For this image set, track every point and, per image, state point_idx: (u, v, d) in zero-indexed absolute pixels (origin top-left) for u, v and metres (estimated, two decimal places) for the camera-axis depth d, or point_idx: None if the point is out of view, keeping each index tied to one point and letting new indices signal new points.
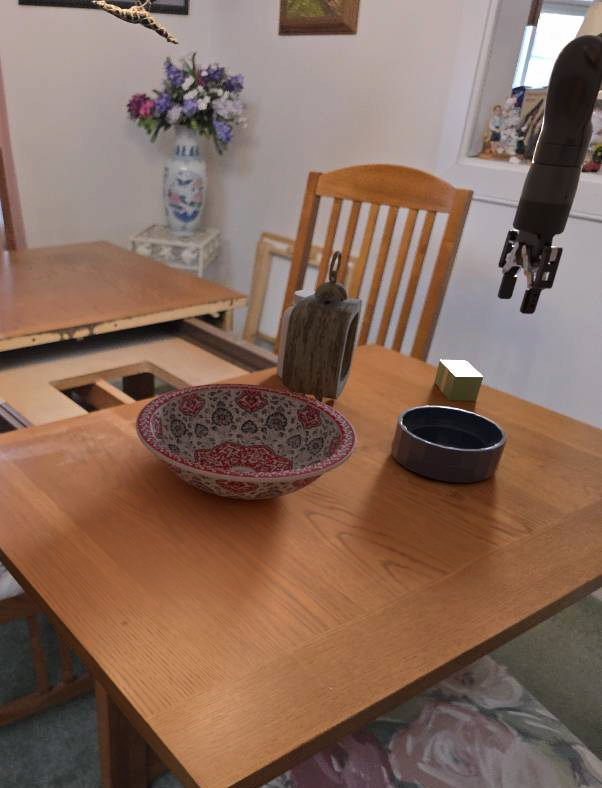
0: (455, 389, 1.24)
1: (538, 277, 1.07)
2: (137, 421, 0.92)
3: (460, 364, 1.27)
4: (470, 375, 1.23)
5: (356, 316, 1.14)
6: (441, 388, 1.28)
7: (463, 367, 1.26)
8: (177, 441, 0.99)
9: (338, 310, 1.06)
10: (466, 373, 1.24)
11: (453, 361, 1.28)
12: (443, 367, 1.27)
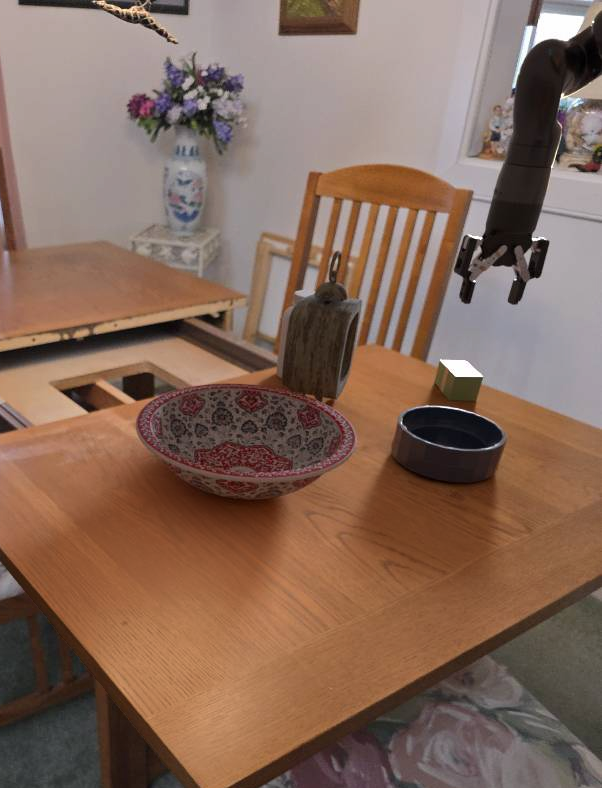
0: (455, 389, 1.24)
1: None
2: (137, 421, 0.92)
3: (460, 364, 1.27)
4: (470, 375, 1.23)
5: (356, 316, 1.14)
6: (441, 388, 1.28)
7: (463, 367, 1.26)
8: (177, 441, 0.99)
9: (338, 310, 1.06)
10: (466, 373, 1.24)
11: (453, 361, 1.28)
12: (443, 367, 1.27)
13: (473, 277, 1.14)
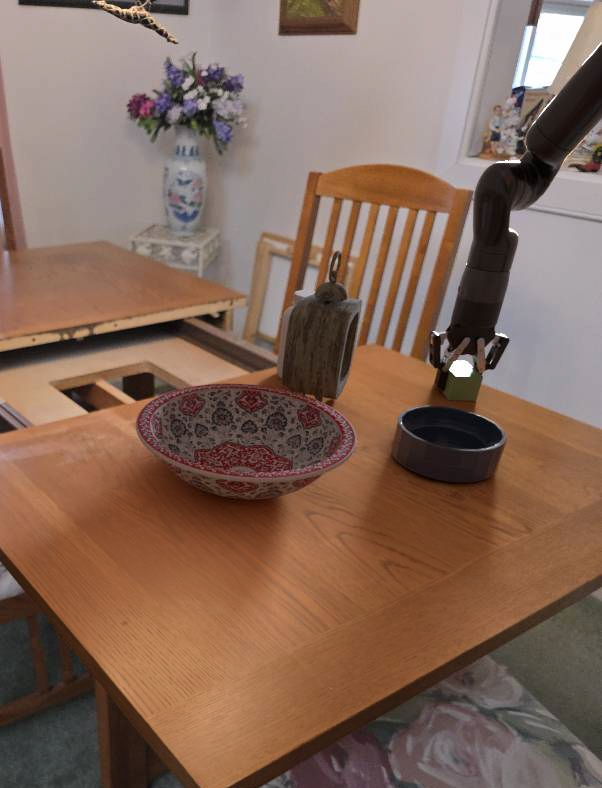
0: (455, 389, 1.24)
1: None
2: (137, 421, 0.92)
3: (460, 364, 1.27)
4: (470, 375, 1.23)
5: (356, 316, 1.14)
6: None
7: (463, 367, 1.26)
8: (177, 441, 0.99)
9: (338, 310, 1.06)
10: (466, 373, 1.24)
11: None
12: None
13: (446, 369, 1.24)
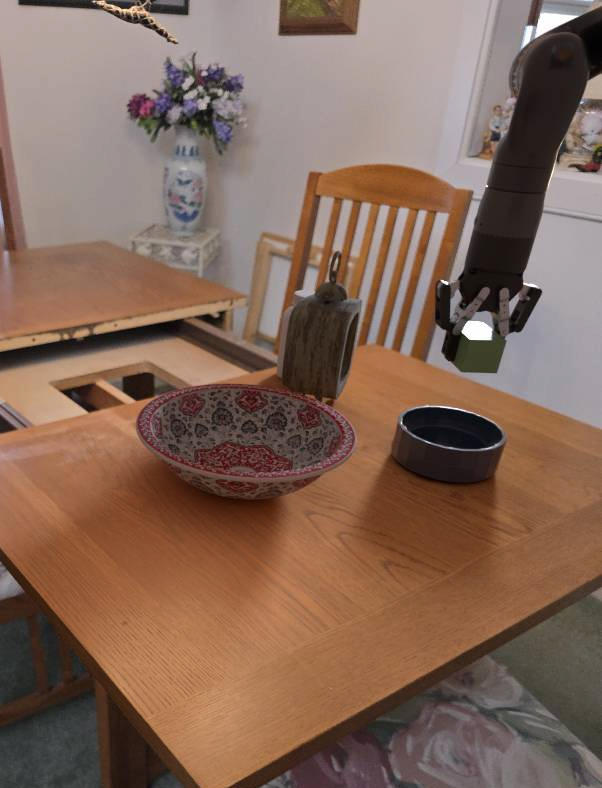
0: (469, 357, 0.93)
1: None
2: (137, 421, 0.92)
3: (476, 326, 0.97)
4: (489, 338, 0.93)
5: (356, 316, 1.14)
6: None
7: (480, 329, 0.96)
8: (177, 441, 0.99)
9: (338, 310, 1.06)
10: (484, 336, 0.93)
11: None
12: None
13: (457, 331, 0.94)
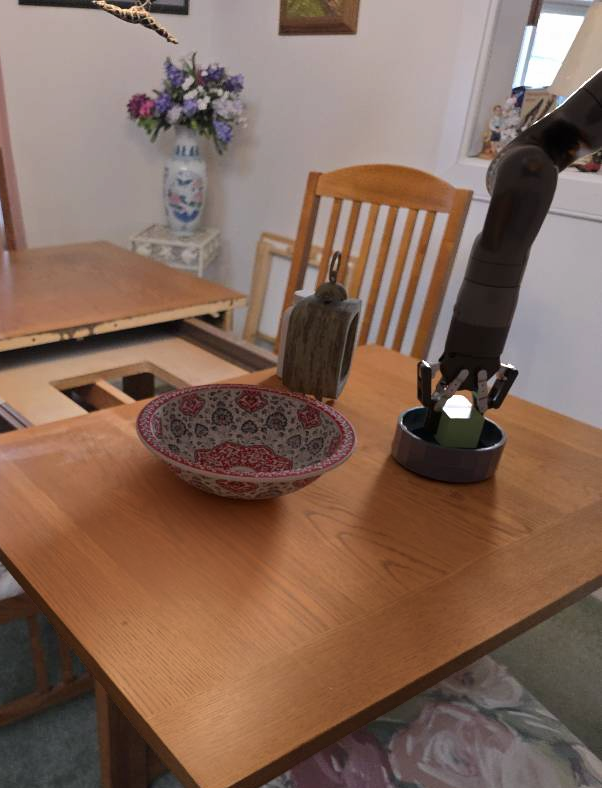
0: (450, 434, 0.98)
1: None
2: (137, 421, 0.92)
3: (456, 401, 1.02)
4: (469, 416, 0.97)
5: (356, 316, 1.14)
6: None
7: (460, 405, 1.00)
8: (177, 441, 0.99)
9: (338, 310, 1.06)
10: (464, 413, 0.98)
11: None
12: None
13: (438, 408, 0.99)
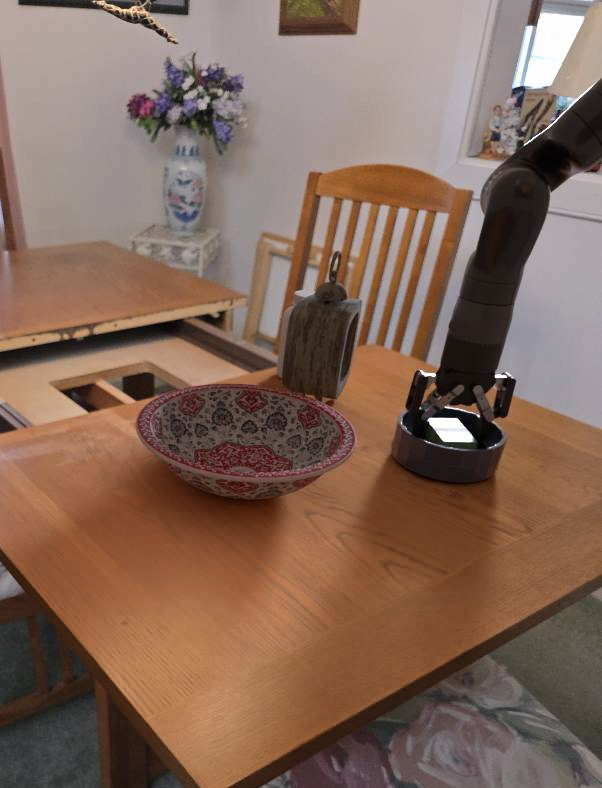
0: None
1: None
2: (137, 421, 0.92)
3: (450, 424, 1.04)
4: (462, 440, 0.99)
5: (356, 316, 1.14)
6: None
7: (453, 428, 1.02)
8: (177, 441, 0.99)
9: (338, 310, 1.06)
10: (457, 437, 1.00)
11: (441, 419, 1.05)
12: (429, 427, 1.04)
13: (426, 417, 0.99)
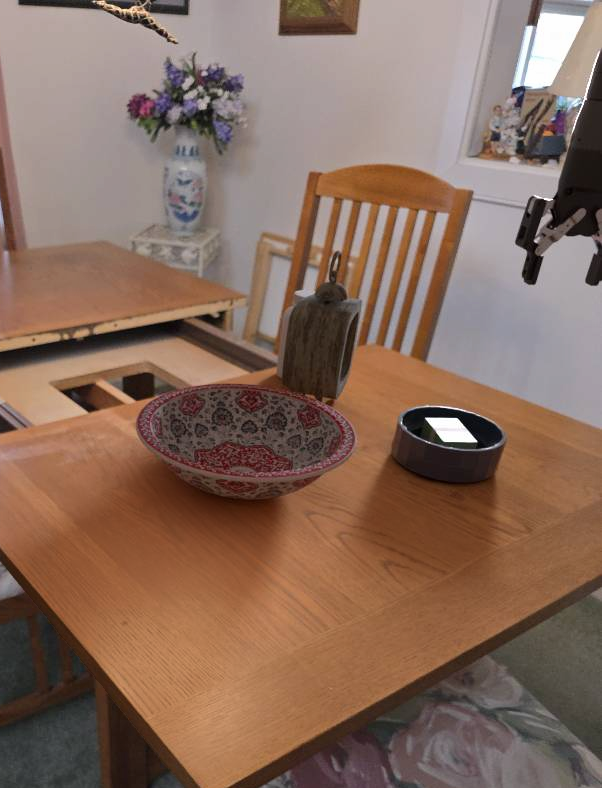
0: None
1: None
2: (137, 421, 0.92)
3: (450, 424, 1.04)
4: (462, 440, 0.99)
5: (356, 316, 1.14)
6: None
7: (453, 428, 1.02)
8: (177, 441, 0.99)
9: (338, 310, 1.06)
10: (457, 437, 1.00)
11: (441, 419, 1.05)
12: (429, 427, 1.04)
13: (540, 250, 0.90)
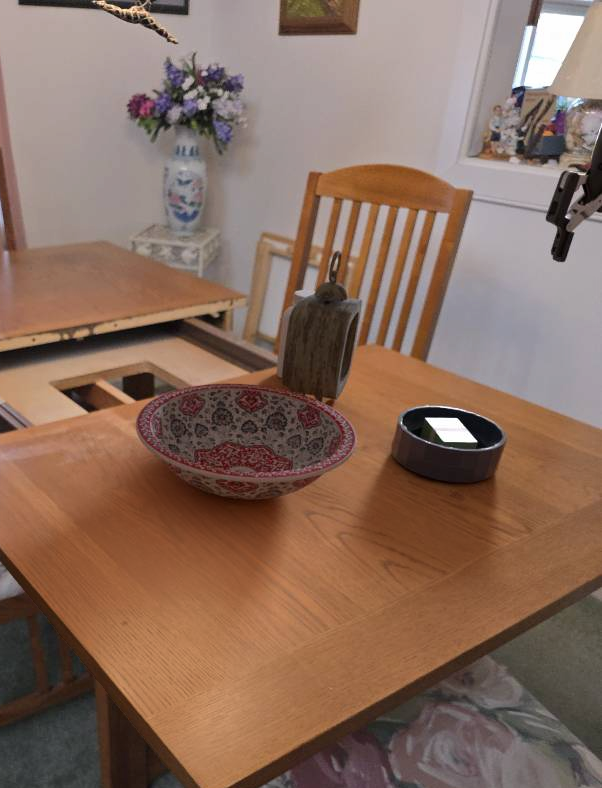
0: None
1: None
2: (137, 421, 0.92)
3: (450, 424, 1.04)
4: (462, 440, 0.99)
5: (356, 316, 1.14)
6: None
7: (453, 428, 1.02)
8: (177, 441, 0.99)
9: (338, 310, 1.06)
10: (457, 437, 1.00)
11: (441, 419, 1.05)
12: (429, 427, 1.04)
13: (571, 226, 0.89)
